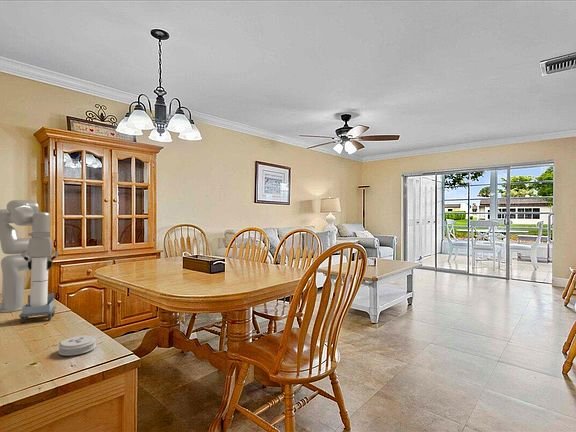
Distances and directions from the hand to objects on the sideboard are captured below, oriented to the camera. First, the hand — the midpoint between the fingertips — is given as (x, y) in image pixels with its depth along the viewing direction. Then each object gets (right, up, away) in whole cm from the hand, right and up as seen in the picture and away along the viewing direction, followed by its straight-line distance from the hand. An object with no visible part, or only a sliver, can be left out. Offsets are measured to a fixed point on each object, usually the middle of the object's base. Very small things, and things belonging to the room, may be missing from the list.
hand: (39, 268), depth 167 cm
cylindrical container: (0, -19, 0) cm, 19 cm away
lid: (+47, -27, -40) cm, 67 cm away
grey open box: (0, -26, -1) cm, 26 cm away
